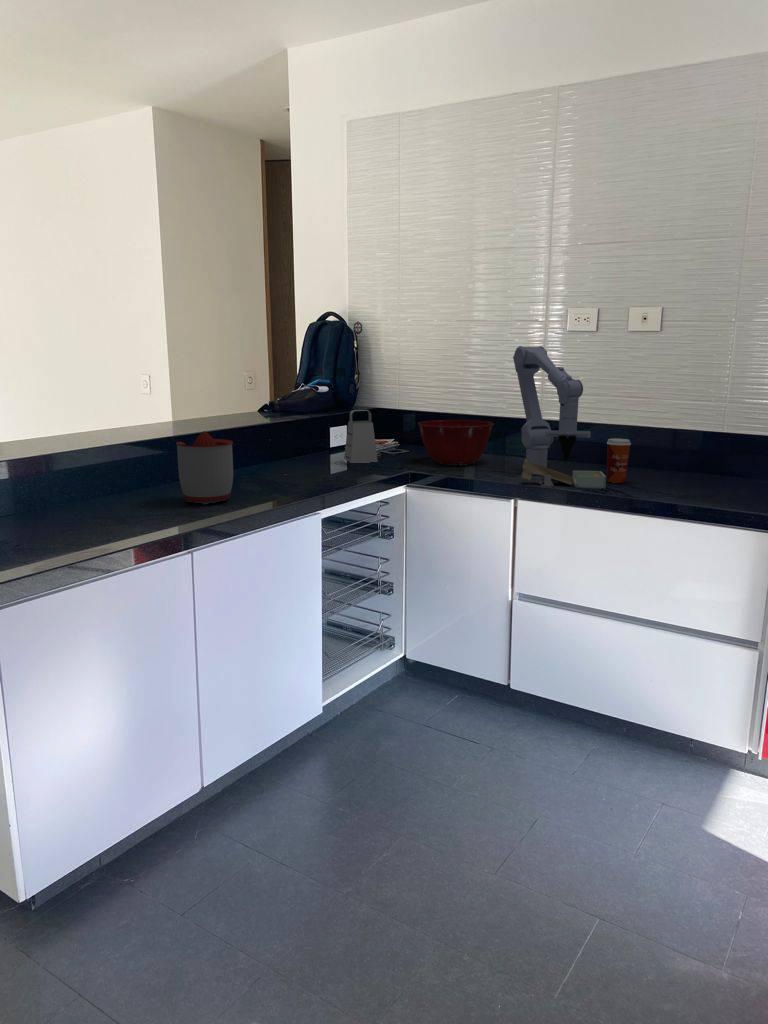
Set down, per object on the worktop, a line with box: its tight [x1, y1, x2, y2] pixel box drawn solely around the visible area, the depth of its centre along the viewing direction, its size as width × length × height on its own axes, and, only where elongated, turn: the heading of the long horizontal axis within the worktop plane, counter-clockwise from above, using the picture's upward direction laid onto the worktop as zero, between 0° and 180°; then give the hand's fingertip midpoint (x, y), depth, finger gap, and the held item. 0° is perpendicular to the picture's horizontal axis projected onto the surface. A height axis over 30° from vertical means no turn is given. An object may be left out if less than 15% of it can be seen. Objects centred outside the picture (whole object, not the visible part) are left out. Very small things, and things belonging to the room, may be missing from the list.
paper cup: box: [606, 438, 632, 484], centre depth 243 cm, size 8×8×14 cm
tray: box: [571, 470, 607, 490], centre depth 238 cm, size 11×9×4 cm
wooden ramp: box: [520, 459, 574, 486], centre depth 243 cm, size 13×16×5 cm
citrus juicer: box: [175, 431, 234, 502], centre depth 211 cm, size 16×17×20 cm
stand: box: [538, 474, 555, 487], centre depth 240 cm, size 8×4×4 cm, turn 173°
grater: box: [343, 409, 379, 463], centre depth 278 cm, size 10×10×20 cm
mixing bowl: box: [417, 419, 495, 466], centre depth 281 cm, size 28×28×16 cm
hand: (565, 459), depth 245 cm, fingers closed
